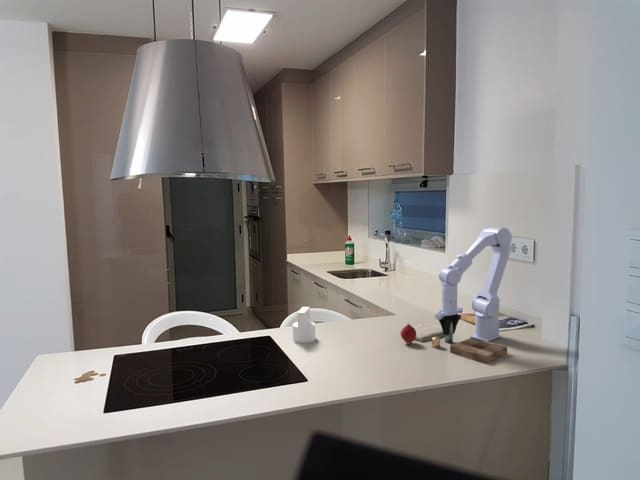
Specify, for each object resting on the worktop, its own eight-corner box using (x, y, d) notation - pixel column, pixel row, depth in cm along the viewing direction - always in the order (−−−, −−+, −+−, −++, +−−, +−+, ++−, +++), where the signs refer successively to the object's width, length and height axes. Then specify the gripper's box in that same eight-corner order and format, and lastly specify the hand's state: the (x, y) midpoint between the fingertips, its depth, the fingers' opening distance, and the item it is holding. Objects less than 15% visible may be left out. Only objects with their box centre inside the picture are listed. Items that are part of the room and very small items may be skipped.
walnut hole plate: (472, 343, 170) (472, 337, 170) (507, 353, 159) (507, 347, 159) (450, 352, 162) (450, 345, 161) (485, 363, 151) (485, 356, 150)
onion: (416, 341, 174) (416, 321, 173) (415, 346, 168) (415, 326, 167) (401, 340, 175) (401, 320, 174) (400, 345, 170) (400, 325, 169)
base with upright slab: (312, 343, 174) (312, 313, 173) (290, 342, 176) (289, 312, 174) (317, 335, 183) (317, 307, 181) (296, 334, 185) (295, 306, 183)
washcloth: (452, 335, 183) (452, 327, 182) (421, 343, 173) (421, 336, 172) (430, 327, 192) (430, 320, 192) (399, 335, 183) (399, 328, 182)
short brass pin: (435, 344, 170) (435, 335, 169) (441, 346, 167) (441, 337, 167) (430, 346, 168) (430, 337, 168) (436, 348, 166) (436, 339, 165)
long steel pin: (447, 340, 175) (448, 320, 174) (454, 342, 172) (454, 322, 172) (443, 341, 173) (443, 321, 172) (449, 343, 171) (450, 323, 170)
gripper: (452, 294, 178) (451, 327, 180) (429, 300, 169) (428, 335, 171) (467, 297, 173) (466, 331, 174) (444, 304, 164) (444, 339, 165)
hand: (448, 333), depth 172 cm, fingers closed on long steel pin, 3 cm apart
